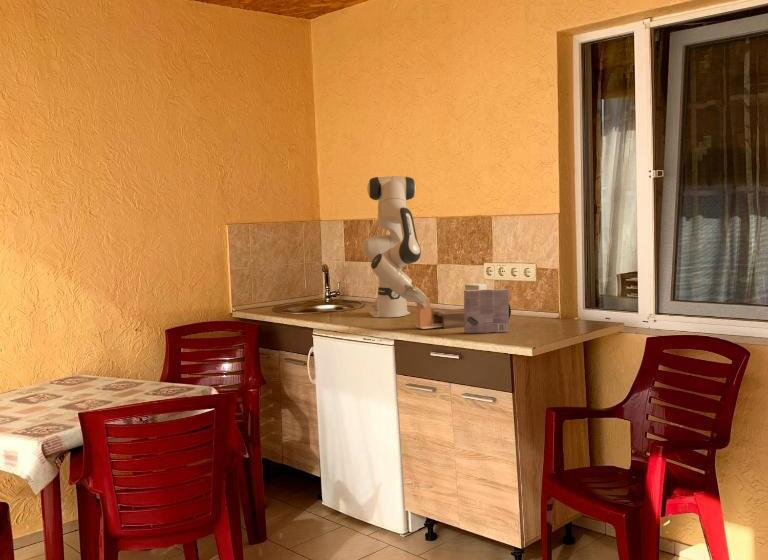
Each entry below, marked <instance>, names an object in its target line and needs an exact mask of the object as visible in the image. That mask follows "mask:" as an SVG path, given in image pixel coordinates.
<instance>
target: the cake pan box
mask: <svg viewBox="0 0 768 560" xmlns="http://www.w3.org/2000/svg"><path fill="white" fill-rule="evenodd" d="M463 309H464V327H463V328H464V329H463V331H464V333H465V334H493V333H492V332H496V333H508V332H507V331H509V332H510V319H511V315H512V314H511V313H512V308H511V304H510V290H509V289H508V288H503V289H487V290H465V289H464V290H463ZM490 332H491V333H490Z"/></svg>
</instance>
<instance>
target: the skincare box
mask: <svg viewBox="0 0 768 560" xmlns="http://www.w3.org/2000/svg"><path fill="white" fill-rule="evenodd" d="M487 287H488V285H487V284H486V283H478V282H477V283H474V282H472V283H466V284H464V290H488V288H487Z"/></svg>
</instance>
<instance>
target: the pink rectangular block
mask: <svg viewBox="0 0 768 560" xmlns="http://www.w3.org/2000/svg"><path fill="white" fill-rule="evenodd" d="M425 302H426V303H427V306H426V307H423V306H422V305H421V304H420V303H418V302H417V303H416V316H417V318H416V319H417V321H416V322H417V324H416V325H415V328H418V329H423V330H425V329H426V330H427V329H434V328H436V329H437V328H443V323H434V324H433V323H432V318H431V317H432V316H431V315H432V309H431V298H430V297H427V299H426V300H425Z"/></svg>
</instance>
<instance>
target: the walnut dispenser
mask: <svg viewBox="0 0 768 560" xmlns="http://www.w3.org/2000/svg"><path fill="white" fill-rule="evenodd" d="M431 315H432V316H431V317H432V318H431V320H432V324H434V323H443V327H442V329H444V330H445V329H456V327H457V328H464V308H457V309H447V310H436V309H431Z"/></svg>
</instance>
